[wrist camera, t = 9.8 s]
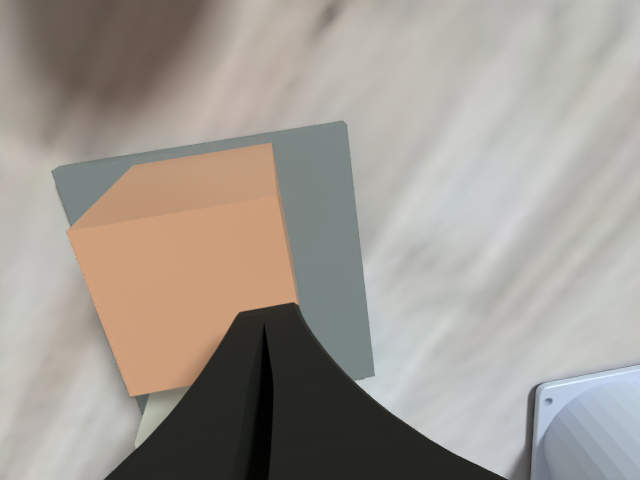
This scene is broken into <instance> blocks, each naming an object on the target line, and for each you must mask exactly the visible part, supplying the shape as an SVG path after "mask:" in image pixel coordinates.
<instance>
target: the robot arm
mask: <svg viewBox="0 0 640 480" xmlns="http://www.w3.org/2000/svg"><path fill="white" fill-rule="evenodd" d="M545 399H546V400H545ZM104 480H508V479H506V478H504V477H501V476H499V475H497V474H495V473H493V472H491V471H489V470H487V469H485V468H483V467H481V466H479V465H477V464H474V463H472V462H470V461H468V460H466V459H464V458H462V457H460V456H458V455H456V454H454V453H452V452H450V451H449V450H447V449H445V448H443V447H442V446H440V445H438V444H437V443H435V442H433V441H432V440H430V439H428V438H427V437H425V436H424V435H422V434H421V433H420V432H418V431H417V430H415V429H414V428H412V427H411V426H409V425H408V424H406V423H405V422H403V421H402V420H400V419H399V418H398V417H396V416H395V415H393V414H392V413H391V412H389V411H388V410H387V409H385V408H384V407H383V406H382V405H381V404H379V403H378V402H377V401H376V400H374V399H373V398H372V397H371V396H370V395H369V394H367V393H366V392H365V391H364V390H363V389H362V388H361V387H360V386H358V385H357V384H356V383H355V382H354V381H353V380H352V379H351V378H350V377H349V376H348V375H347V374H346V373H345V372H344V371H343V369H342V368H341V367H340V366H339V365H338V364H337V363H336V362H335V361H334V360H333V358H332V357H331V356H330V355H329V354H328V353H327V351H326V350H325V349H324V347H323V346H322V345H321V343H320V342H319V341H318V340H317V338H316V337H315V335H314V334H313V333H312V331H311V329H310V328H309V326H308V325H307V323H306V321H305V319H304V318H303V316H302V313H301V311H300V307H299V305H297V304H296V303H294V302H291V303H286V304H280V305H275V306H269V307H264V308H259V309H253V310H248V311H242V312H239V313H238V314H237V316H236V317H235V319H234V320H233V322H232V324H231V325H230V327H229V329H228V331H227V332H226V334H225V336H224V337H223V339H222V341H221V342H220V344H219V346H218V347H217V349H216V350H215V352H214V353H213V355H212V356H211V358H210V359H209V361H208V363H207V364H206V366H205V367H204V369H203V370H202V372H201V373H200V374H199V376H198V377H197V379H196V380H195V381H194V383H193V384H192V385H191V387H190V388H189V389H188V391H187V392H186V393H185V395H184V396H183V397H182V399H181V400H180V401H179V403H178V404H177V405H176V406H175V408H174V409H173V410H172V411H171V412H170V414H169V415H168V416H167V417H166V418H165V419H164V420H163V421H162V423H161V424H160V425H159V426H158V427H157V428H156V429H155V430H154V431H153V432H152V434H151V435H150V436H149V437H148V438H147V439H146V440H145V441H144V442H143V443H142V444H141V445H140V446H139V447H138V448H137V449H136V450H135V451H134V452H133V453H131V454H130V455H129V456H128V457H127V458H126V459H125V460H124V461H123V462H122V463H121V464H120V465H119V466H118V467H117V468H116V469H115V470H114V471H113V472H111V473H110V474H109V475H108V476H107V477H106V478H105V479H104ZM530 480H640V365H635V366H630V367H625V368H620V369H614V370H609V371H604V372H599V373H594V374H588V375H583V376H578V377H573V378H568V379H562V380H557V381H552V382H547V383H543V384H541V385H540V386H538V388H537V390H536V397H535V413H534V429H533V446H532V462H531V478H530Z"/></svg>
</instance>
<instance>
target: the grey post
mask: <svg viewBox="0 0 640 480" xmlns="http://www.w3.org/2000/svg"><path fill="white" fill-rule="evenodd" d="M190 387H191V385H190V386H185V387H179V388H174V389H169V390H163V391H158V392H153V393H150V394H149V398H148V401H147V404H146V407H145V411H144V414H143V417H142V420H141V423H140V427H139V430H138V433H137V436H136V439H135V443H134V445H135V448H136V449H137V448H138V447H139V446H140V445H141V444H142V443H143V442H144V441H145V440H146V439H147V438H148V437H149V436H150V435H151V434H152V432H153V431H154V430H155V429H156V428H157V427H158V426H159V425H160V424H161V423H162V421H163V420H164V419H165V418H166V417H167V416H168V415H169V414H170V412H171V411H172V410H173V409H174V408H175V406H176V405H177V404H178V403H179V401H180V400H181V399H182V397H183V396H184V395H185V393H186V392H187V391H188V389H189V388H190Z"/></svg>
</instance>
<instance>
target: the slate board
mask: <svg viewBox="0 0 640 480" xmlns="http://www.w3.org/2000/svg"><path fill="white" fill-rule="evenodd" d="M266 143H272V148H273V154H274V159H275V165H276V170H277V176H278V181H279V187H280V192H281V198H282V203H283V209H284V214H285V220H286V225H287V231H288V236H289V242H290V247H291V252H292V258H293V263H294V270H295V277H296V283H297V290H298V297H299V304H300V310H301V313H302V316H303V318H304V319H305V321H306V323H307V325H308V326H309V328H310V329H311V331H312V333H313V334H314V335H315V337H316V338H317V340H318V341H319V342H320V343H321V345H322V346H323V347H324V349H325V350H326V351H327V353H328V354H329V355H330V356H331V357H332V358H333V360H334V361H335V362H336V363H337V364H338V365H339V366H340V367H341V368H342V369H343V371H344V372H345V373H346V374H347V375H348V376H349V377H350V378H351V379H352V380H356V379H361V378H366V377H372V376H375V374H374V365H373V356H372V347H371V338H370V329H369V320H368V311H367V302H366V293H365V284H364V275H363V266H362V257H361V248H360V239H359V230H358V221H357V212H356V204H355V195H354V186H353V177H352V168H351V159H350V150H349V141H348V132H347V124H346V123H345V122H344V121H339V122H333V123H327V124H320V125H314V126H308V127H302V128H295V129H289V130H283V131H276V132H270V133H264V134H258V135H251V136H245V137H239V138H232V139H226V140H220V141H214V142H207V143H201V144H195V145H188V146H182V147H176V148H170V149H163V150H157V151H151V152H144V153H138V154H132V155H126V156H119V157H113V158H107V159H100V160H94V161H88V162H82V163H75V164H69V165H63V166H59V167H57V168H56V169H54V170H52V171H51V173H52V175H53V178H54V181H55V183H56V186H57V188H58V191H59V194H60V196H61V199H62V202H63V204H64V207H65V210H66V212H67V215H68V218H69V220H70V223H71V226H72V225H73V224H74V223H75V222H76V221H77V220H78V219H79V218H80V217H81V216H82V215H83V214H84V213H85V212H86V211H87V210H88V209H89V208H90V207H91V206H92V205H93V204H94V203H95V202H96V201H97V200H98V199H99V198H100V197H101V196H103V195H104V194H105V193H106V192H107V191H108V190H109V189H110V188H111V187H112V186H113V185H114V184H115V183H116V182H117V181H118V180H119V179H120V178H121V177H122V176H123V175H124V174H125V173H126V172H127V171H128V170H129V169H130V168H131V167H132V166H133V165H139V164H145V163H151V162H157V161H163V160H169V159H175V158H181V157H187V156H193V155H199V154H206V153H212V152H218V151H224V150H230V149H236V148H242V147H248V146H254V145H260V144H266ZM149 394H150V393H148V394H142V395H137V396H136V399H137V402H138V404H139V407H140V410H141V412H142V415H143V414H144V411H145V407H146V404H147V401H148V398H149Z"/></svg>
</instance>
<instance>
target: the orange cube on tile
mask: <svg viewBox="0 0 640 480" xmlns="http://www.w3.org/2000/svg"><path fill="white" fill-rule="evenodd" d="M66 233H67V235H68V238H69V241H70V243H71V246H72V248H73V251H74V253H75V256H76V259H77V261H78V264H79V266H80V269H81V272H82V274H83V277H84V279H85V282H86V284H87V287H88V290H89V292H90V295H91V297H92V300H93V303H94V305H95V308H96V310H97V313H98V315H99V318H100V321H101V323H102V326H103V328H104V331H105V333H106V336H107V339H108V341H109V344H110V346H111V349H112V352H113V354H114V357H115V359H116V362H117V364H118V367H119V370H120V372H121V375H122V377H123V380H124V382H125V385H126V388H127V390H128V393H129V395H130V397H132V396H137V395H142V394H148V393H153V392H158V391H163V390H169V389H174V388H179V387H185V386H190V385H192V384H193V383H194V381H195V380H196V379H197V377H198V376H199V374H200V373H201V372H202V370H203V369H204V367H205V366H206V364H207V363H208V361H209V359H210V358H211V356H212V355H213V353H214V352H215V350H216V349H217V347H218V346H219V344H220V342H221V341H222V339H223V337H224V336H225V334H226V332H227V331H228V329H229V327H230V325H231V324H232V322H233V320H234V319H235V317H236V316H237V314H238V313H239V312H242V311H248V310H253V309H259V308H264V307H269V306H275V305H280V304H286V303H291V302H294V303H296V304H297V305H299V307H300V304H299V297H298V290H297V283H296V277H295V270H294V263H293V258H292V252H291V247H290V242H289V236H288V231H287V225H286V220H285V214H284V209H283V203H282V198H281V192H280V187H279V181H278V176H277V170H276V165H275V159H274V154H273V148H272V143H266V144H260V145H254V146H248V147H242V148H236V149H230V150H224V151H218V152H212V153H206V154H199V155H193V156H187V157H181V158H175V159H169V160H163V161H157V162H151V163H145V164H139V165H133V166H132V167H131V168H130V169H129V170H128V171H127V172H126V173H125V174H124V175H123V176H122V177H121V178H120V179H119V180H118V181H117V182H116V183H115V184H114V185H113V186H112V187H111V188H110V189H109V190H108V191H107V192H106V193H105V194H104V195H103V196H101V197H100V198H99V199H98V200H97V201H96V202H95V203H94V204H93V205H92V206H91V207H90V208H89V209H88V210H87V211H86V212H85V213H84V214H83V215H82V216H81V217H80V218H79V219H78V220H77V221H76V222H75V223H74V224H73V225H72V226H71V227H70V228H69V229H68V230H67V231H66ZM300 311H301V310H300Z"/></svg>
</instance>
